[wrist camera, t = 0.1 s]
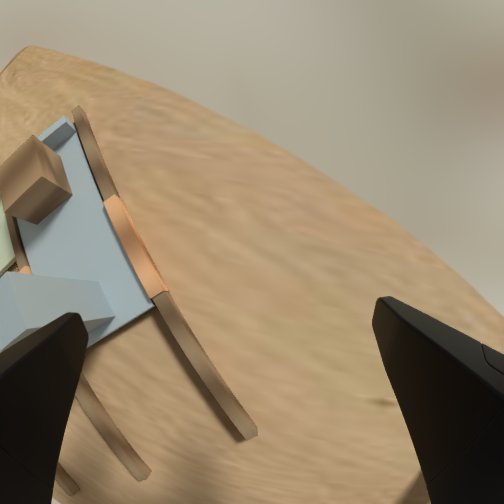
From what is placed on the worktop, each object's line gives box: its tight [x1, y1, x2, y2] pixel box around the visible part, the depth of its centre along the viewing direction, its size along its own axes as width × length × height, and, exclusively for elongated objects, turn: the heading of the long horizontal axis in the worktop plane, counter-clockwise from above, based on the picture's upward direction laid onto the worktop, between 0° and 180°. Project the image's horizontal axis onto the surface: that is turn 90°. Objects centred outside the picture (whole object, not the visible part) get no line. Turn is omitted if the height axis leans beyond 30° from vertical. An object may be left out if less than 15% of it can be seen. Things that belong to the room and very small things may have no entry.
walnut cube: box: [0, 135, 73, 225], centre depth 20 cm, size 5×5×5 cm
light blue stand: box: [0, 115, 156, 352], centre depth 17 cm, size 20×10×12 cm, turn 32°
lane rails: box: [5, 105, 258, 496], centre depth 21 cm, size 35×24×2 cm
